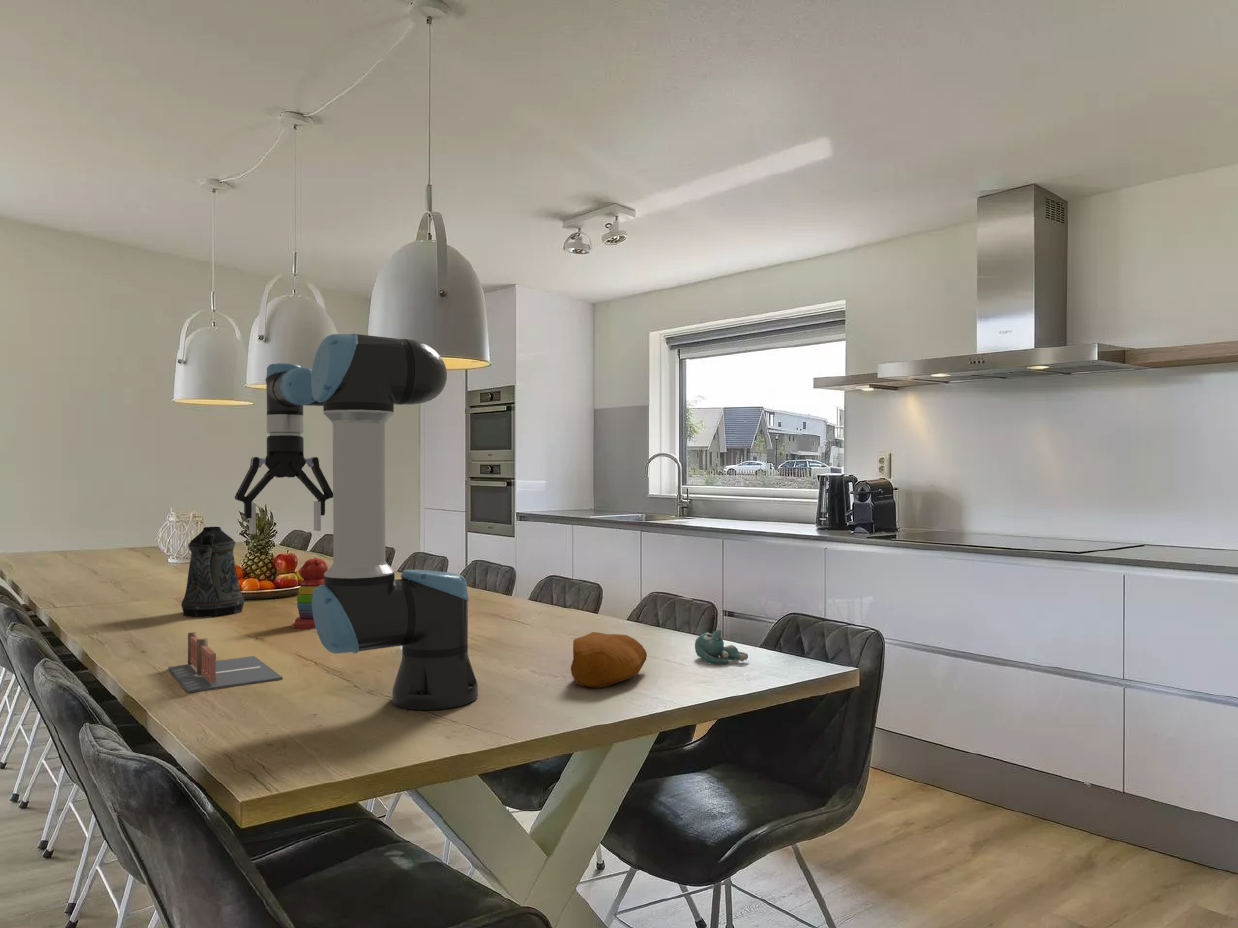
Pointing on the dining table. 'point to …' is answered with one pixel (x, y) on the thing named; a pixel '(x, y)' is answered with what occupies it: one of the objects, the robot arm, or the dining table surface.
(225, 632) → the dining table surface
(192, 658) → the fixed panel
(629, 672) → the bread
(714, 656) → the stuffed animal
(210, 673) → the hinged panel
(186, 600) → the beer stein
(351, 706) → the dining table surface
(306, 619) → the stacking bear
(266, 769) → the dining table surface
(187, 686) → the mat
